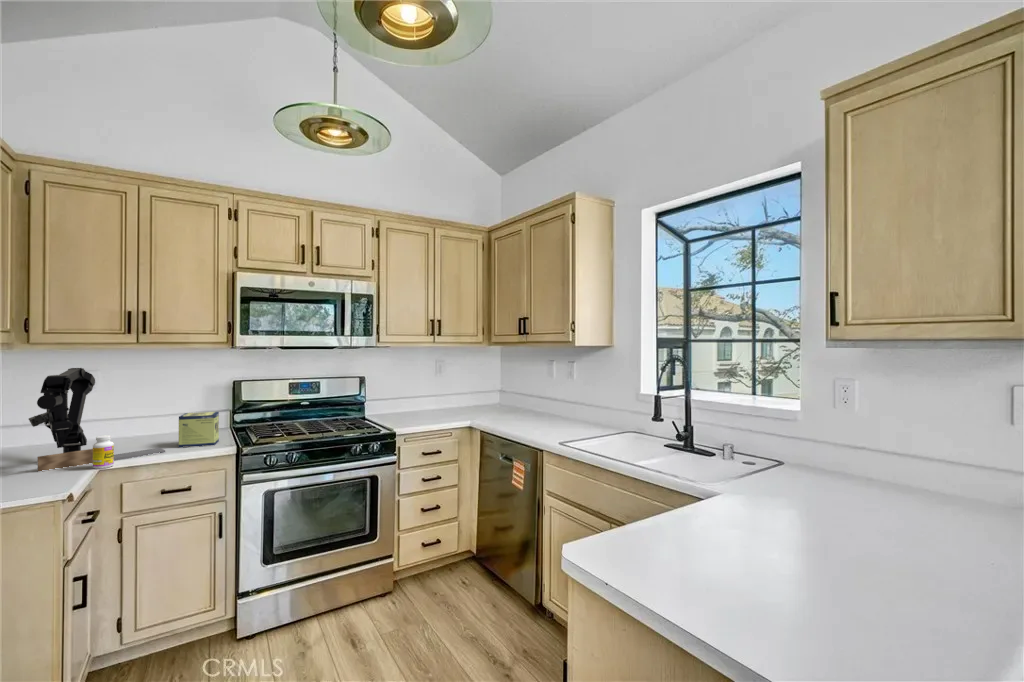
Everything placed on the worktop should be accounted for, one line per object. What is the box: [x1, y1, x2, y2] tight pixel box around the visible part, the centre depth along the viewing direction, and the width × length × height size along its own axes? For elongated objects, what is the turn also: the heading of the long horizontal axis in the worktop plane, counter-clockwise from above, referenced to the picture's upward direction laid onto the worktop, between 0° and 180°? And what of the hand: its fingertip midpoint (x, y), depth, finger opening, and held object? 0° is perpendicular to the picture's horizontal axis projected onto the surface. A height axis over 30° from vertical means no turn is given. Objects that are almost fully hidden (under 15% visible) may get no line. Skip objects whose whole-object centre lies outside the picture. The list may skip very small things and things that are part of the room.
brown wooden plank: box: [37, 448, 93, 472], centre depth 197 cm, size 18×2×6 cm, turn 142°
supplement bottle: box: [92, 434, 115, 470], centre depth 196 cm, size 7×7×13 cm
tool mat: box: [114, 447, 166, 462], centre depth 215 cm, size 8×22×1 cm, turn 142°
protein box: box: [177, 411, 220, 448], centre depth 237 cm, size 10×16×16 cm
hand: (58, 443), depth 194 cm, fingers open, 9 cm apart
